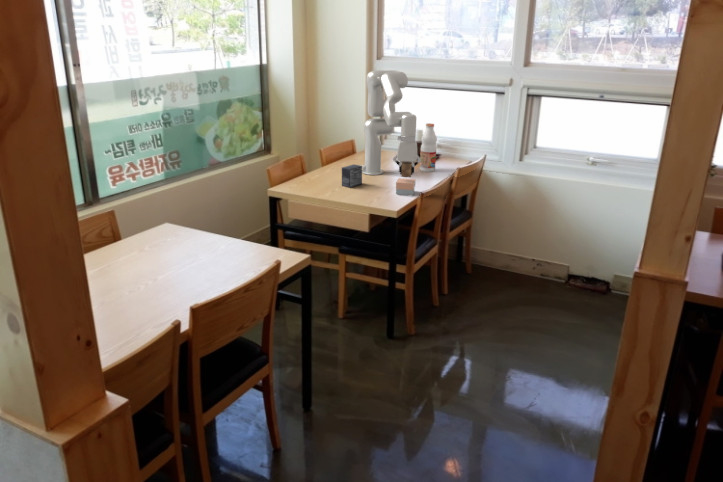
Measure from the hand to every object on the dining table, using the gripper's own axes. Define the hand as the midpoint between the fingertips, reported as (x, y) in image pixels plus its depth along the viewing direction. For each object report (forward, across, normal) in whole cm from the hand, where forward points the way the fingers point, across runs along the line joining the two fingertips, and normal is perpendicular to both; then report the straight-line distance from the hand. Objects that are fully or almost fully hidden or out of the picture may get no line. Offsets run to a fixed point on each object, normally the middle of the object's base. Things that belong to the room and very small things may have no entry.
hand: (406, 173), depth 309 cm
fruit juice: (+11, +10, +53) cm, 55 cm away
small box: (+11, -30, +10) cm, 34 cm away
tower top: (+8, 0, 0) cm, 8 cm away
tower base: (+11, 0, 0) cm, 11 cm away
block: (+1, 0, 0) cm, 1 cm away
